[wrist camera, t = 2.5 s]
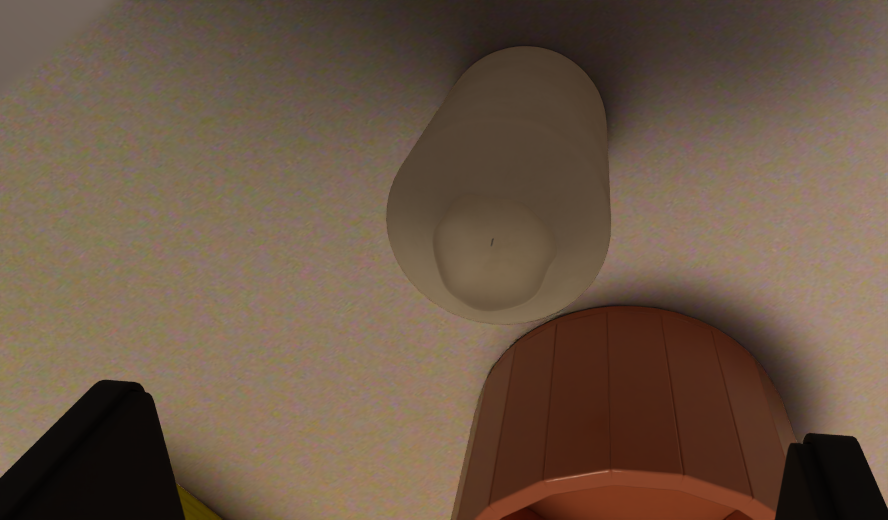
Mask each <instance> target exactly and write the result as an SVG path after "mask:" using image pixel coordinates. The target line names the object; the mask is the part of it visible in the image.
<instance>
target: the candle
mask: <svg viewBox="0 0 888 520" xmlns="http://www.w3.org/2000/svg"><path fill="white" fill-rule="evenodd" d="M386 221H387V230H388V236H389V240H390V244H391V247H392V250H393V253H394V255H395V258H396V260H397V262H398V263H399V265H400V267H401V269H402V271H403V272H404V273H405V275H406V276H407V277H408V279H409V280H410V281H411V283H412V284H413V285H414V286H415V287H416V288H417V289H418V290H419V291H420V292H421V293H422V294H423V295H425V296H426V297H427V298H428V299H429V300H431V301H432V302H434V303H435V304H437V305H438V306H440V307H441V308H443V309H445V310H447V311H449V312H451V313H453V314H455V315H458V316H460V317H463V318H466V319H469V320H473V321H477V322H482V323H489V324H503V325H508V324H520V323H526V322H531V321H535V320H538V319H541V318H544V317H547V316H549V315H551V314H554V313H556V312H558V311H560V310H561V309H563V308H565V307H566V306H568V305H569V304H571V303H572V302H573V301H575V300H576V299H577V298H578V297H579V296H581V295H582V293H583V292H584V291H585V290H586V289H587V288H588V287H589V286H590V285H591V283H592V282H593V280H594V279H595V278H596V276H597V275H598V273H599V271H600V269H601V267H602V265H603V263H604V260H605V257H606V254H607V251H608V247H609V241H610V232H611V212H610V186H609V161H608V136H607V123H606V114H605V109H604V105H603V101H602V99H601V97H600V94H599V92H598V90H597V88H596V86H595V85H594V83H593V82H592V80H591V79H590V78H589V76H588V75H587V74H586V73H585V72H584V71H583V70H582V69H581V68H580V67H579V66H578V65H577V64H575V63H574V62H573V61H571V60H570V59H568V58H567V57H565V56H563V55H561V54H559V53H557V52H554V51H552V50H548V49H544V48H540V47H532V46H517V47H511V48H506V49H503V50H499V51H496V52H494V53H491V54H489V55H487V56H485V57H483V58H482V59H480V60H479V61H477V62H476V63H474V64H473V65H472V66H471V67H470V68H468V69H467V70H466V71H465V73H464V74H463V75H462V76H461V77H460V78H459V80H458V81H457V82H456V84H455V85H454V86H453V88H452V89H451V91H450V92H449V94H448V95H447V97H446V98H445V100H444V101H443V103H442V105H441V106H440V108H439V109H438V111H437V112H436V114H435V115H434V117H433V118H432V120H431V121H430V123H429V124H428V126H427V127H426V129H425V131H424V132H423V134H422V135H421V137H420V138H419V140H418V141H417V143H416V144H415V146H414V147H413V149H412V150H411V152H410V154H409V155H408V157H407V158H406V160H405V161H404V163H403V164H402V166H401V167H400V169H399V171H398V173H397V175H396V177H395V179H394V181H393V184H392V187H391V190H390V193H389V198H388V203H387V218H386Z"/></svg>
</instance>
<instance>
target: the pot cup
mask: <svg viewBox="0 0 888 520" xmlns="http://www.w3.org/2000/svg"><path fill="white" fill-rule="evenodd" d="M790 443H797V442H796V439H795V436H794V434H793V431H792V428H791V425H790V422H789V419H788V416H787V413H786V410H785V408H784V405H783V402H782V399H781V396H780V394H779V393H778V392H777V390H776V389H775V386H774V384H773V382H772V380H771V379H770V377H769V376H768V374H767V373H766V371H765V370H764V368H763V367H762V366H761V365H760V364H759V362H758V361H757V360H756V359H755V358H754V357H753V356H752V355H751V354H750V352H748V351H747V350H746V349H745V348H744V347H742V346H741V345H740V344H739V343H738V342H736V341H735V340H734V339H732V338H731V337H729V336H728V335H726V334H724V333H723V332H721V331H720V330H718V329H716V328H714V327H712V326H710V325H708V324H706V323H704V322H702V321H699V320H697V319H694V318H691V317H688V316H685V315H682V314H679V313H676V312H672V311H667V310H662V309H657V308H650V307H639V306H609V307H601V308H593V309H588V310H584V311H579V312H575V313H571V314H568V315H565V316H563V317H560V318H557V319H555V320H552V321H550V322H548V323H546V324H544V325H542V326H540V327H538V328H536V329H534V330H533V331H531V332H530V333H528V334H527V335H525V336H524V337H523V338H521V339H520V340H518V341H517V342H516V343H515V344H514V345H513V346H512V347H511V348H510V349H508V350H507V351H506V352H505V353H504V354H503V356H502V357H501V358H500V359H499V361H498V362H497V363H496V364H495V366H494V367H493V369H492V371H491V372H490V374H489V376H488V377H487V379H486V381H485V384H484V386H483V389H482V392H481V394H480V398H479V402H478V405H477V407H476V410H475V413H474V417H473V422H472V426H471V431H470V435H469V440H468V444H467V449H466V453H465V458H464V462H463V466H462V471H461V475H460V480H459V484H458V489H457V493H456V498H455V502H454V507H453V511H452V516H451V520H775V515H776V510H777V505H778V499H779V494H780V488H781V483H782V478H783V472H784V467H785V461H786V456H787V451H788V447H789V445H790Z"/></svg>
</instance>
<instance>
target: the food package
mask: <svg viewBox="0 0 888 520" xmlns="http://www.w3.org/2000/svg"><path fill="white" fill-rule="evenodd" d="M176 485H177V489H178V493H179V496H180V500H181V504H182V508H183V511H184V515H185V520H223V519H222V518H220V517H219V516H218V515H217V514H215V513H214V512H213V511H211V510H210V509H209V508H208V507H206V506H205V505H204V504H202V503H201V502H200V501H199V500H197V499H196V498H195V497H193V496H192V495H191V494H189V493H188V492H187V491H186V490H184V489H183V488H182V487H181V486H179V485H178V484H177V483H176Z"/></svg>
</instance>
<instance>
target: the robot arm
mask: <svg viewBox="0 0 888 520" xmlns="http://www.w3.org/2000/svg"><path fill="white" fill-rule="evenodd" d="M0 520H185V515H184V511H183V508H182V504H181V500H180V496H179V493H178V489H177V485H176V482H175V478H174V474H173V470H172V467H171V463H170V459H169V455H168V452H167V448H166V444H165V441H164V437H163V433H162V429H161V426H160V422H159V418H158V414H157V411H156V407H155V403H154V400H153V398H152V396H151V395H150V394H149V393H147V392H145V390H144V388H143V387H142V386H141V385H140V383H136V382H128V381H115V380H101V381H99V382H97V383H96V384H94V385H93V386H92V387H91V388H90V389H89V390H88V391H87V392H86V393H85V394H84V395H83V396H82V397H81V398H80V399H79V400H78V401H77V402H76V403H75V404H74V405H73V406H72V407H71V408H70V409H69V410H68V411H67V412H66V413H65V414H64V415H63V416H62V417H61V418H60V419H59V420H58V421H57V422H56V423H55V424H54V425H53V426H52V427H51V428H50V429H49V430H48V431H47V432H46V433H45V434H44V435H43V436H42V437H41V438H40V439H39V440H38V441H37V442H36V443H35V444H34V445H33V446H32V447H31V448H30V449H29V450H28V451H27V452H26V453H25V454H24V455H23V456H22V457H21V458H20V459H19V460H18V461H17V462H16V463H15V464H14V465H13V466H12V467H11V468H10V469H9V470H8V471H7V472H6V473H5V474H4V475H3V476H2V477H1V478H0ZM775 520H888V508H887V506H886V504H885V501H884V499H883V497H882V494H881V492H880V490H879V488H878V485H877V483H876V481H875V479H874V476H873V474H872V472H871V469H870V467H869V465H868V463H867V460H866V458H865V456H864V453H863V451H862V449H861V447H860V444H859V442H858V441H857V439H856V438H855V437H853V436H842V435H829V434H816V433H808V434H806V436H805V438H804V440H803V444H802V443H790V445H789V447H788V451H787V456H786V461H785V467H784V472H783V478H782V483H781V488H780V494H779V499H778V505H777V510H776V515H775Z"/></svg>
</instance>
